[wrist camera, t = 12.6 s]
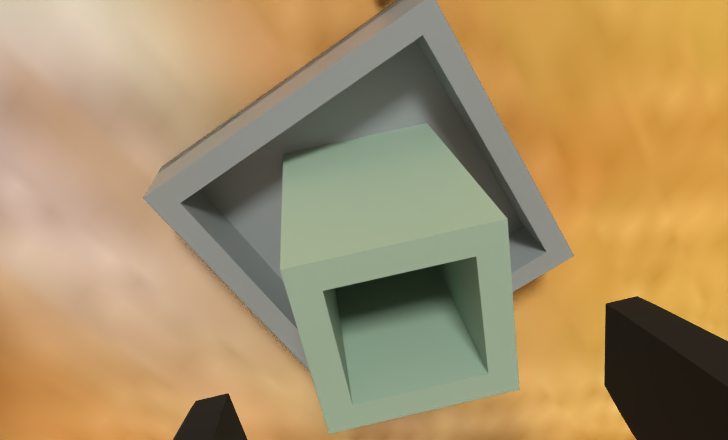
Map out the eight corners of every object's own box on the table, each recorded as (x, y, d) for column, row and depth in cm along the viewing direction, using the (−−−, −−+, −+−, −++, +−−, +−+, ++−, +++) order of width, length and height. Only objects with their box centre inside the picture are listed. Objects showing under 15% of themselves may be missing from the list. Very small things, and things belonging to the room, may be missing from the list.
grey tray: (330, 351, 21) (335, 397, 19) (161, 166, 17) (142, 198, 15) (541, 222, 20) (574, 255, 18) (412, -11, 16) (432, -6, 14)
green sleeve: (315, 277, 19) (328, 434, 13) (283, 154, 17) (280, 269, 11) (443, 248, 19) (519, 389, 13) (427, 123, 17) (507, 218, 11)
